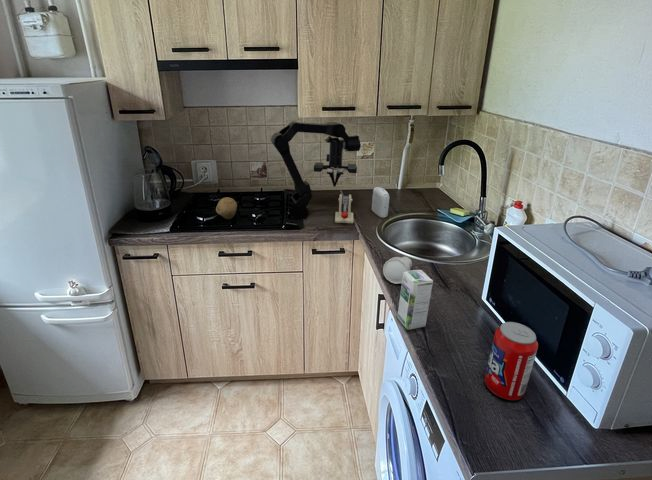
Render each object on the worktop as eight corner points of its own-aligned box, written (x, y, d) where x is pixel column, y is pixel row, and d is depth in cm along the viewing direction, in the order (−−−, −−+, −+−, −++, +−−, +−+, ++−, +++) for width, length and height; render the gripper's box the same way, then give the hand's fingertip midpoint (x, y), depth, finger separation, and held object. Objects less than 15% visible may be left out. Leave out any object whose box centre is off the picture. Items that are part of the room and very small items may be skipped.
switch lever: (348, 220, 159) (348, 215, 157) (340, 219, 160) (341, 215, 158) (348, 200, 168) (348, 195, 165) (341, 199, 168) (342, 195, 166)
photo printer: (388, 217, 171) (391, 191, 167) (380, 218, 170) (382, 192, 165) (378, 209, 180) (380, 184, 176) (370, 210, 179) (372, 185, 175)
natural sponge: (215, 223, 163) (213, 201, 159) (219, 215, 171) (217, 194, 167) (236, 223, 163) (235, 201, 159) (239, 215, 171) (238, 194, 168)
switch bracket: (353, 223, 164) (354, 200, 160) (334, 222, 165) (335, 199, 161) (353, 215, 173) (354, 192, 169) (335, 214, 174) (336, 191, 170)
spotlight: (378, 276, 121) (387, 254, 119) (390, 268, 131) (398, 247, 129) (402, 289, 118) (411, 266, 115) (412, 279, 127) (421, 258, 125)
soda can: (525, 408, 77) (543, 349, 72) (483, 396, 80) (497, 338, 75) (521, 380, 84) (537, 325, 79) (483, 370, 87) (495, 315, 82)
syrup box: (396, 317, 104) (401, 271, 99) (415, 314, 106) (421, 268, 101) (406, 330, 99) (413, 283, 94) (426, 326, 101) (434, 279, 96)
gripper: (357, 148, 171) (355, 181, 177) (316, 147, 173) (315, 180, 179) (357, 154, 161) (355, 189, 167) (313, 152, 163) (313, 187, 168)
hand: (334, 186), depth 170 cm, fingers closed
